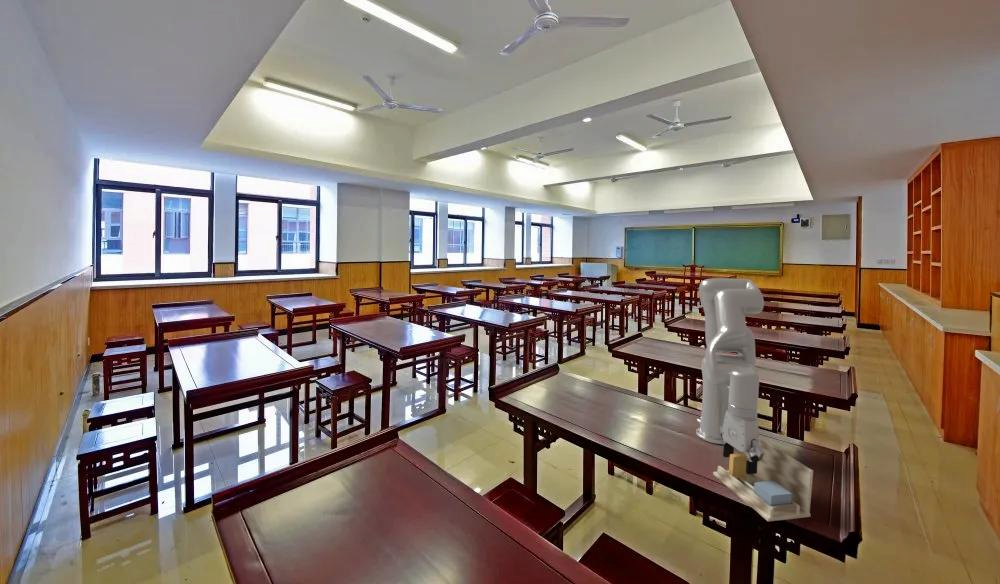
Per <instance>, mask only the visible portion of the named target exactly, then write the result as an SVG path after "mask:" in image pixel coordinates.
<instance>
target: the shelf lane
mask: <svg viewBox="0 0 1000 584" xmlns="http://www.w3.org/2000/svg"><path fill="white" fill-rule="evenodd" d="M759 445H760V447H761V448H762V449H763V451H764V452H765V454H764V456H763V457H762V459H761V460H760V461H758V463H757V473H756V474H747V479H744V480H745V481H747V482H748V483H749V484H751V485H752V486H753V487H754V483H755V482H765V481H775V482H776V483H778V484H779V485H780V486H782V487H783V488H785V489H786V490H787V491H789V492H790V493H792V495H791V504H786V505H777V506H769V505H768V504H767V503H766V502H764V501H763V500H762V499H761V498H759V497H758V496H757V495H756V494H755V493H754V490H753V489H751V488H750V487H749V486H747V485H746V484H745V483H744V482H742V481H741V480H740V479H739V480H737V479H736V478H735V477H733V476H732V475H731V474H730V473H729V469H727V470H726V469H725V468H724V467H722V466H721V465H717V469H716V470H717V471H713V472H712V475H713V476H715V477H716V478H717V479H718V480H719V481H720V482H721V483H723V484H724V486H726V487H727V488H728V489H729V490H731V491H732V492H733V493H734V494H735V495H737V497H739V498H740V499H741V500H742V501H744V503H745V504H747V505H749V507H751V508H752V510H754V511H756V513H758V515H760V516H761V517H762V518H763V519H764V520H766V521H767V522H775V521H784V520H793V519H800V518H801V519H802V518H809V517H810V518H811V517H812V516H811V515H812V514H811V513H810V512H811V499H812V490H813V476H814V470H813V469H811V468H809V467H808V466H806V465H804V464H803V463H801V462H800V461H798V460H797V459H795V458H794V457H792V456H790V455H789V454H787V453H786V452H784V451H782V450H780V449H779V448H778V447H776V446H774V445H772V444H770V443H769V442H768V441H766V440H764V439H762V438H761V437H759ZM750 455H751V457H752V456H753V453H750Z"/></svg>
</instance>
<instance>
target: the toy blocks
mask: <svg viewBox="0 0 1000 584" xmlns="http://www.w3.org/2000/svg"><path fill="white" fill-rule="evenodd" d="M746 460H748V458H747V456H746V453H742V452H740V453H734V454H730V457H729V464H728V465H729V466H728V470H729V473H730V474H731V475H732V476H733V477H735V478H736V479H737V480H739V479H740V480H741V481H742V482H744V483H745V484H746V485H747V486H749V487H750V488H751V489H753V490H754V493H755V494H756V495H757V496H758V497H759V498H761V499H762V500H763V501H764V502H766V503H767V504H768V505H769V506H777V505H786V504H791V495H792V493H790V492H789V491H787V490H786V489H785V488H783V487H782V486H780V485H779V484H778V483H776V482H775V481H765V482H755V483H754V487H753V486H752V485H751V484H749V483H748V482H747V481H745V480H744V479H747V473H746Z"/></svg>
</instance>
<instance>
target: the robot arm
mask: <svg viewBox="0 0 1000 584" xmlns="http://www.w3.org/2000/svg"><path fill="white" fill-rule="evenodd" d="M698 287H699V288H698V295H699V300H700V304H701V306H702V308H703V313H704V327H705V329H704V330H705V331H704V332H705V333H704V334H705V335H704V336H705V344H706V349H705V354H704V357H703V358H702V360H701V365H700V366H701V373H702V374H701V375H702V401H701V416H700V418H697V419H696V421H697V423H698V424H699V427H698V428H696V429H695V435H696V436H697V437H698V438H700V439H701V440H703V441H706V442H708V443H711V444H716V445H723V451H722V456H723V458H730V454H735V453H734V452H735V449H736V450H737V451H738V452H740V453H745V454H746V456H747V458H748V460H746V473H747V474H756V473H757V463H758V461H760V460H761V459H762V457H763V456H764V454H765V452H764V451H763V449H762V448H761V447H760V445H759V438H760V434H759V431H760V430H759V424H758V423H759V422H758V421H759V420H758V408H759V407H758V405H759V389H760V388H759V387H760V375H759V373H758V370H757V361H756V340H755V335H754V332H753V331H752V329H750V328H748V327H747V324H746V323H747V322H746V316H745V315H746V314H749V315H752V314H753V315H758V314H760V313H761V312H762V311H763V310H764V305H765V301H764V297H763V294H762V292H761V290H760V288H759V287H758V286H757V285H756V284H755V283H754V281H752V280H751V279H749V278H732V277H731V278H726V277H724V278H723V277H716V278H715V277H714V278H713V277H712V278H707V279H704V280H702V281H701V282H700V283H699V286H698ZM716 352H725V353H727V352H728V353H730V352H731V353H737V354H739V355H727V354H716ZM750 453H753V456H752V457H751V455H750Z"/></svg>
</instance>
